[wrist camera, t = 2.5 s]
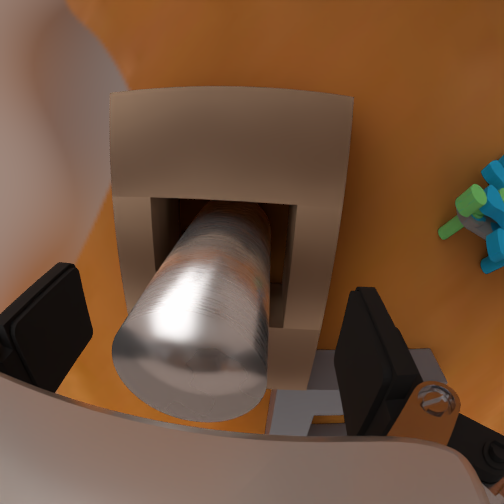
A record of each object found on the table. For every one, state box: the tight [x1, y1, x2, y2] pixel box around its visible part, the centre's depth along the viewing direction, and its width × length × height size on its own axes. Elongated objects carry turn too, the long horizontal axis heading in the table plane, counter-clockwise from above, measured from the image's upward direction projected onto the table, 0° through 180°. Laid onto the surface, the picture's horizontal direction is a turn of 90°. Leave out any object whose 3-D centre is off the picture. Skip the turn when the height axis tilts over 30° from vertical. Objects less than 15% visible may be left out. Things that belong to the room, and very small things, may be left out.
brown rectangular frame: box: [110, 86, 354, 390], centre depth 15 cm, size 14×9×4 cm, turn 177°
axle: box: [112, 200, 271, 422], centre depth 12 cm, size 4×4×10 cm
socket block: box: [265, 348, 448, 436], centre depth 20 cm, size 11×11×4 cm
